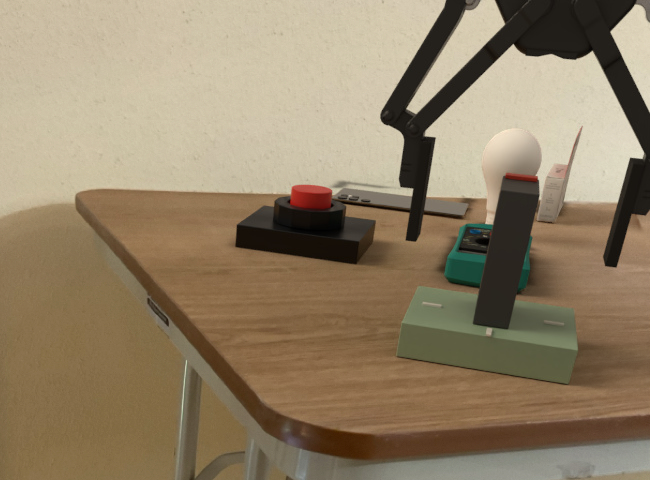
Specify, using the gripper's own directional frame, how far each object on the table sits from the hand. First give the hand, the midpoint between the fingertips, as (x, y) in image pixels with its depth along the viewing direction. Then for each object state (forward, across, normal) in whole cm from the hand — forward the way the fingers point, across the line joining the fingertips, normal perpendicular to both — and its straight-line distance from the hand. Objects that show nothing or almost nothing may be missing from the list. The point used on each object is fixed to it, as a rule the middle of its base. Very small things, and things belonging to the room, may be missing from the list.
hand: (508, 250), depth 62 cm
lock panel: (+7, 0, 0) cm, 7 cm away
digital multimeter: (+7, +1, -23) cm, 24 cm away
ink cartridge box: (+8, -5, -55) cm, 56 cm away
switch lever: (+5, 0, 0) cm, 5 cm away
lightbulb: (+7, +1, -38) cm, 39 cm away
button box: (+7, +19, -23) cm, 31 cm away
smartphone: (+7, +13, -49) cm, 51 cm away
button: (+3, +19, -23) cm, 30 cm away
